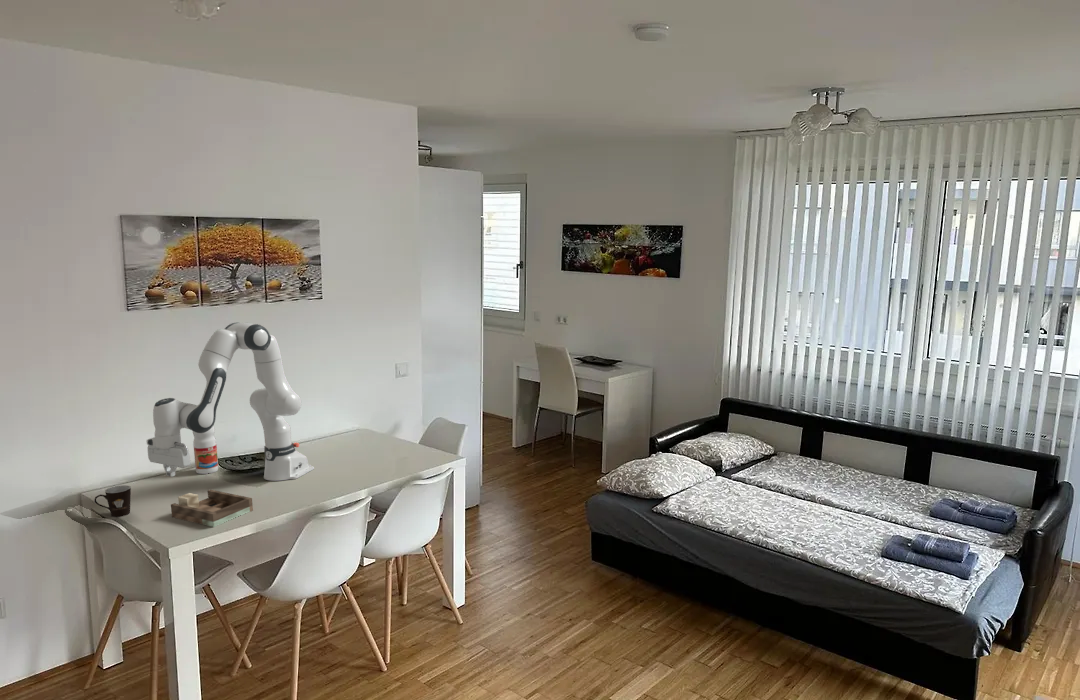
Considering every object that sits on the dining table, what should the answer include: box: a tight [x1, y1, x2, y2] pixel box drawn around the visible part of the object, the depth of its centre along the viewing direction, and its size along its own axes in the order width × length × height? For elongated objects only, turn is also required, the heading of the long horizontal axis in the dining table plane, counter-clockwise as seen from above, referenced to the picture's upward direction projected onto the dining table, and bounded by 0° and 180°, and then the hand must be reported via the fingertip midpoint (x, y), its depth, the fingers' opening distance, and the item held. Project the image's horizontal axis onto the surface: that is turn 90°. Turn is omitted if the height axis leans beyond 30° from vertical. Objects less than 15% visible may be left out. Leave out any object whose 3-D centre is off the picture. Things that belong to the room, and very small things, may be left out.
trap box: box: [170, 489, 254, 528], centre depth 283 cm, size 23×18×5 cm
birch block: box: [177, 492, 200, 508], centre depth 283 cm, size 5×5×5 cm
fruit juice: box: [192, 425, 219, 475], centre depth 332 cm, size 9×9×28 cm
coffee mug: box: [94, 484, 132, 518], centre depth 283 cm, size 12×9×10 cm
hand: (170, 475), depth 285 cm, fingers closed
